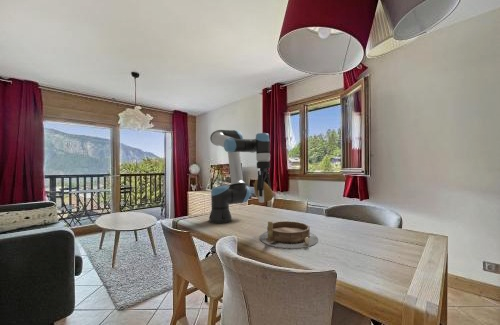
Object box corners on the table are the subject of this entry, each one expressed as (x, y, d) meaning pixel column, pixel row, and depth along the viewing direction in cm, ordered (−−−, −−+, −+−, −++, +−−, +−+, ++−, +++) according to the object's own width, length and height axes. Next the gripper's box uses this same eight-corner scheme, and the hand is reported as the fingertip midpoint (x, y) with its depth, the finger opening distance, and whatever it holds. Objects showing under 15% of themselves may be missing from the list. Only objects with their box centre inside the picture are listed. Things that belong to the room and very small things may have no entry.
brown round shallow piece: (286, 227, 131) (285, 211, 131) (318, 235, 115) (317, 217, 115) (253, 236, 115) (252, 218, 115) (285, 248, 99) (284, 227, 99)
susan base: (252, 244, 108) (252, 236, 108) (268, 228, 135) (268, 221, 135) (316, 251, 98) (316, 242, 98) (319, 231, 125) (319, 225, 125)
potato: (246, 187, 125) (252, 179, 131) (260, 207, 128) (266, 198, 134) (259, 182, 119) (265, 174, 125) (273, 203, 122) (279, 194, 128)
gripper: (263, 160, 115) (265, 204, 114) (275, 161, 137) (276, 198, 136) (249, 161, 117) (251, 204, 117) (263, 161, 139) (264, 198, 139)
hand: (264, 200), depth 126 cm, fingers closed on potato, 11 cm apart
